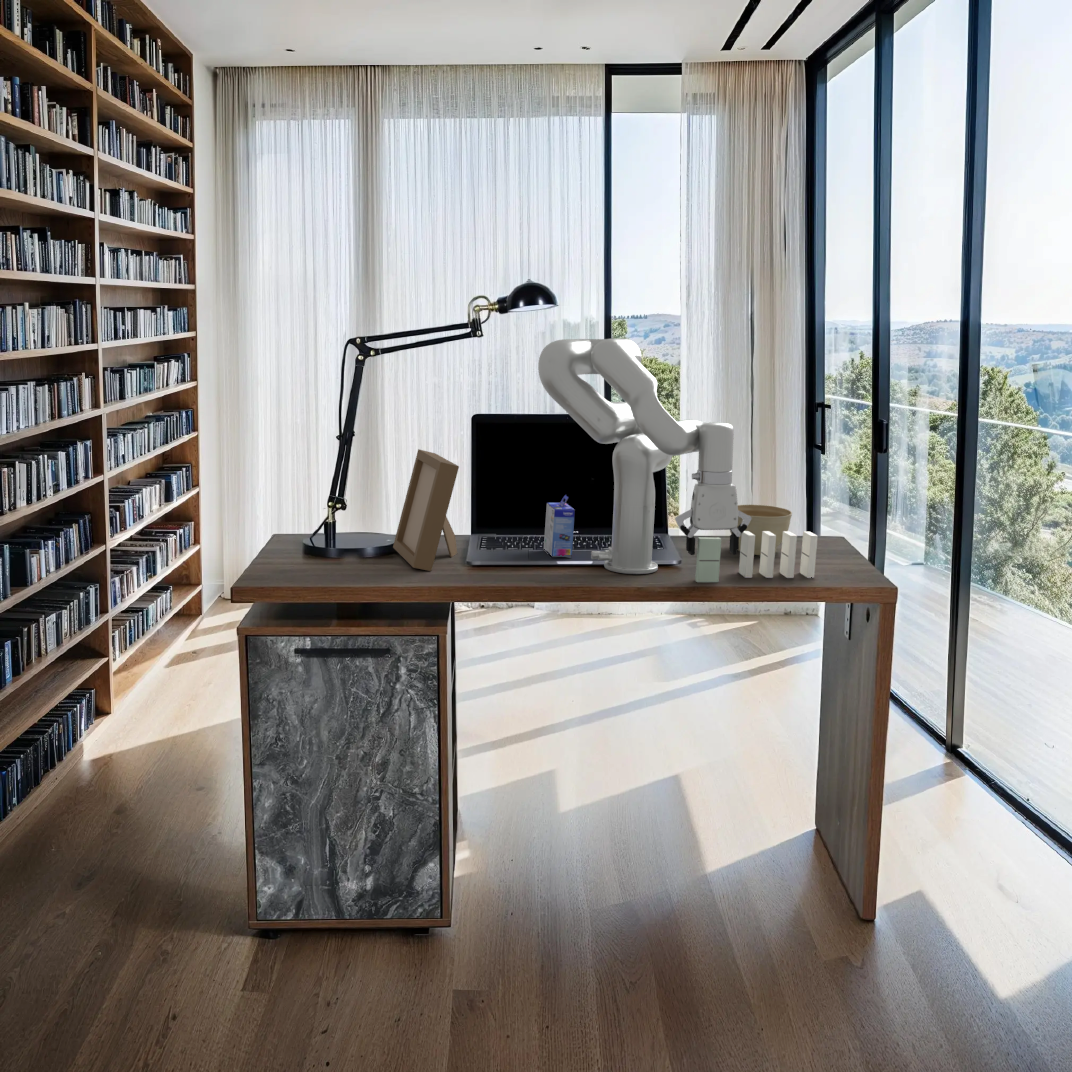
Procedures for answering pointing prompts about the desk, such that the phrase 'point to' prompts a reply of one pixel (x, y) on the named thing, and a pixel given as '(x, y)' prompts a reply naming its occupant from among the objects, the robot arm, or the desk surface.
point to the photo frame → (426, 511)
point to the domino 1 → (708, 559)
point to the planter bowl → (765, 523)
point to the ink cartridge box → (559, 528)
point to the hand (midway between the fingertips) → (712, 553)
